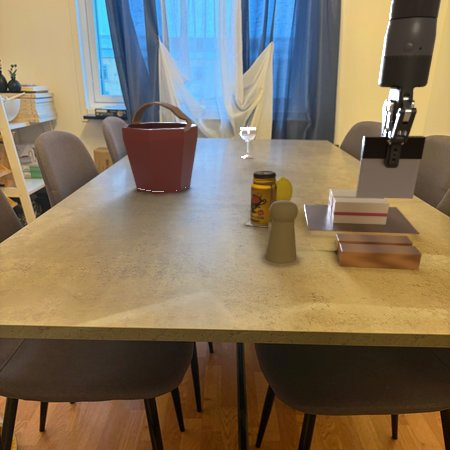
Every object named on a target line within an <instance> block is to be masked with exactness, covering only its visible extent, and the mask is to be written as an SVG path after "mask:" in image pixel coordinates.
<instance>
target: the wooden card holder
mask: <svg viewBox="0 0 450 450" xmlns="http://www.w3.org/2000/svg"><path fill="white" fill-rule="evenodd" d="M413 244H414V243H413V241H412V240H411V239H410V238H409V237H408V236H407V235H396V234H395V235H393V234H391V235H390V234H368V233H366V234H365V233H364V234H363V233H335V238H334V245H335V248H336V249H335V254H336V255H337V260H338V263H339V266H340V267H346V268H367V269H368V268H369V269H370V268H371V269H394V270H411V271H412V270H415V271H418V270H419V268H420V264H421V259H422V253H421V251H419V249H418V248H417V247H416V245H413Z"/></svg>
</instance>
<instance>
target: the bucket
mask: <svg viewBox="0 0 450 450" xmlns="http://www.w3.org/2000/svg"><path fill="white" fill-rule="evenodd" d="M153 105H157V106H159V107H162V108H164V109H167V110H169V111H170V112H171V113H172V114H173V115H174V116H175V117H176V118H177V119H179V120H181V122H179V121H175V122H174V121H172V122H171V121H165V122H164V121H149V122H141V120H142V117H143V116H144V113H145V112H146V111H147V110H148V109H149V108H150V107H152V106H153ZM182 121H185V122H182ZM198 127H199V126H198V124H195V123H194V124H193V121H192V119H191V118H190V117H189V116H188V115H187V114H186V113H185V112H183V111H182V110H181V109H180V107H178V106H176V105H173V104H170V103H169V102H164V101H150V102H148V101H147V102H144V103H143V104H141V105H140V106H139V107H138V108H137V109H136V110H135V111H134V114H133V116H132V119H131V123H126V124H124V125H122V127H121V132H122V133H121V134H122V139H123V140H122V141H123V144H124V148H125V151H126V155H127V158H128V162H129V165H130V169H131V172H132V176H133V179H134V183H135V186H136V191H137V192H140V193H147V194H153V195H162V194H174V193H176V194H177V193H181V192H184V191H185V190H188V189H189V188H191V183H192V176H193V170H194V164H195V156H196V150H197V144H198V137H199V128H198ZM185 187H186V188H185ZM137 188H141V189H145V190H140V189H137ZM146 190H151V191H146ZM176 190H177V191H176ZM152 191H164V192H152Z"/></svg>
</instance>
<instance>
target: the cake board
mask: <svg viewBox="0 0 450 450" xmlns="http://www.w3.org/2000/svg"><path fill="white" fill-rule="evenodd" d="M303 207H304V212H305V218H306V226H307V229H308V231H321V232H323V231H324V232H351V233H352V232H353V233H381V234H405V235H406V234H408V235H409V234H410V235H420V232H419V231H418V230H417V229H416V227H414V226H413V224H411V222H410V221H409V220H408V219H407V218H406V217H405V215H404V214H403V212H401V211H400V210H399V208H397V206H389V209H388V216H387V220H386V225H382V224H352V223H333V221H332V218H331V216H330V213H329V210H328V204H303Z"/></svg>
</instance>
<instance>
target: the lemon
mask: <svg viewBox="0 0 450 450" xmlns="http://www.w3.org/2000/svg"><path fill="white" fill-rule="evenodd" d="M276 185H277V198H276V201H282V200H285V201H291V200H292V197H293V192H294V191H293V189H294V188H293V184H292V182H291V181H290V180H289V179H288V178H286V177H285V176H281V177H279V178H278V179H276Z"/></svg>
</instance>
